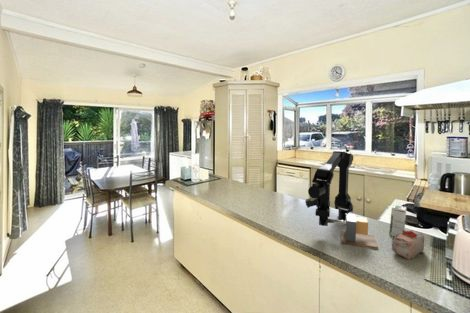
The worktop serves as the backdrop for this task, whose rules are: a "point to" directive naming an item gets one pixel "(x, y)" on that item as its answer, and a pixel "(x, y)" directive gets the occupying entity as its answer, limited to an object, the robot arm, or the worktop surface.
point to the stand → (356, 235)
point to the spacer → (361, 225)
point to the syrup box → (397, 220)
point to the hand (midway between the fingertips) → (322, 223)
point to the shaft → (333, 222)
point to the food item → (408, 244)
